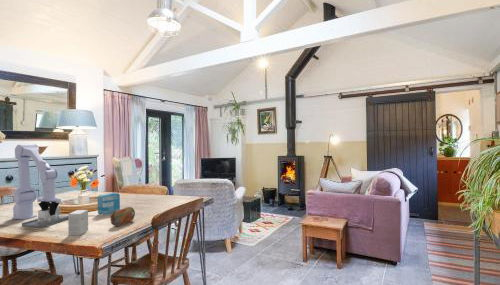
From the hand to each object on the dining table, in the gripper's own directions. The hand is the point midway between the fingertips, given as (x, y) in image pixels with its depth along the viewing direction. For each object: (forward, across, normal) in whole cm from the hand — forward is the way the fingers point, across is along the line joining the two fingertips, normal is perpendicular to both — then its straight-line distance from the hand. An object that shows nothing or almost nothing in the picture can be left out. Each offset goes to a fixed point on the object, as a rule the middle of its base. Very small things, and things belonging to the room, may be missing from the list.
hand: (49, 214), depth 154 cm
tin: (+4, +44, +6) cm, 45 cm away
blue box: (+4, +19, +24) cm, 31 cm away
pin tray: (+4, 0, 0) cm, 4 cm away
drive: (+2, 0, 0) cm, 2 cm away
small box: (+4, +33, -12) cm, 35 cm away
